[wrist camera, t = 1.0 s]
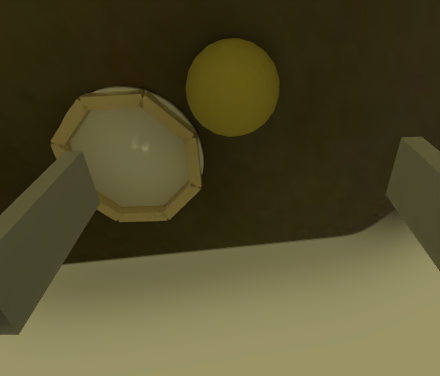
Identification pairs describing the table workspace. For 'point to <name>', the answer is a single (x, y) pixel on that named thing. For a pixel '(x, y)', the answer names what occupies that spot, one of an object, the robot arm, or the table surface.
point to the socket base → (134, 152)
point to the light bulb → (232, 87)
